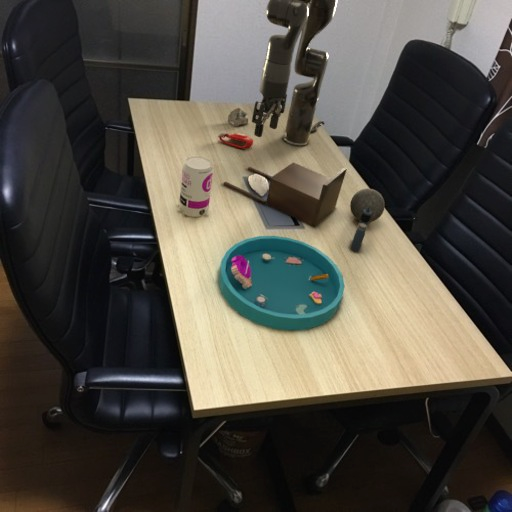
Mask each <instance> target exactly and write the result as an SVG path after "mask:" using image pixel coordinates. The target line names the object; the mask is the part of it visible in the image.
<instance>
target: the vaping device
mask: <svg viewBox="0 0 512 512" xmlns="http://www.w3.org/2000/svg"><path fill="white" fill-rule="evenodd" d="M370 210H371V209H370V208H367V209H364V210H363V213H362V217H361V219H360V221H359V222H358V225H357V228H356V230H355V232H354V235H353V238H352V241H351V244H350V250H351V251H353V252H355V253H356V252H359V251H360V249H361V247H362V245H363V241H364V238H365V235H366V231H367V229H368V226H369V223H370V222H369V220H370V217H371V214H372V212H371V211H370Z"/></svg>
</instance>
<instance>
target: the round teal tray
mask: <svg viewBox="0 0 512 512" xmlns="http://www.w3.org/2000/svg"><path fill="white" fill-rule="evenodd" d="M218 276H219V277H218V284H219V288H220V292H221V295H222V296H223V298H224V299H225V301H226V302H227V303H228V305H229V307H231V308H232V309H234V311H235V312H237V313H238V314H239V315H240V316H242V317H243V318H246V319H247V320H250V321H251V322H252V323H255V324H257V325H260V326H263V327H267V328H270V329H273V330H281V331H288V332H289V331H290V332H293V331H306V330H310V329H313V328H317V327H319V326H322V325H323V324H325V323H326V322H328V321H329V320H331V319H332V318H333V317H334V315H335V314H336V313H337V311H338V310H339V307H340V305H341V302H342V299H343V298H344V297H343V296H344V292H345V281H344V276H343V274H342V272H341V270H340V268H339V267H338V265H337V264H336V263H335V262H334V261H333V260H332V259H331V258H330V256H329V255H327V254H326V253H324V252H323V251H322V250H320V249H318V248H317V247H315V246H313V245H310V244H308V243H306V242H304V241H301V240H297V239H294V238H291V237H287V236H286V237H285V236H279V235H258V236H254V237H249V238H245V239H243V240H240V241H238V242H237V243H235V244H233V245H232V246H231V247H230V248H229V249H227V250H226V252H225V253H224V255H223V257H222V258H221V263H220V268H219V275H218Z"/></svg>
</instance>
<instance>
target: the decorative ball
mask: <svg viewBox="0 0 512 512" xmlns="http://www.w3.org/2000/svg"><path fill="white" fill-rule="evenodd" d="M349 208H350V212H351V214H352V216H353V217H354V218H355V219H356V220H358V221H359V222H360V219H361V217H362V213H363V210H364V209H367V208H370V209H371V210H370V211H371V212H372V214H371V217H370V220H369V222H368V223H372V222H375V221H377V220H378V219H380V218H381V216H382V215H383V213H384V211H385V199H384V197H383V196H382V193H380V192H379V191H378V190H375V189H373V188H363V189H359V190H358V191H356V192H355V193H354V195H352V197H351V200H350V205H349Z"/></svg>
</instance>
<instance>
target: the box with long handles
mask: <svg viewBox="0 0 512 512" xmlns="http://www.w3.org/2000/svg"><path fill="white" fill-rule="evenodd" d="M258 170H259V169H256V168H253V167H252V166H248V167H247V171H248V172H250V173H252V174H258V175H260V176H262V177H265V178H266V179H267V181H269V189H268V191H267V196H266V200H265V199H264V198H262V197H259V196H258V195H255V194H253V193H252V192H249V191H247V190H244V189H243V188H240V187H238V186H236V185H234V184H232V183H230V182H227V181H224V182H223V186H224V187H226V188H228V189H230V190H232V191H234V192H236V193H239V194H241V195H243V196H245V197H248V198H250V199H251V200H253V201H256V202H258V203H259V204H262V205H267V206H268V207H271V208H272V209H275V210H277V211H279V212H281V213H282V214H286V215H287V216H289V217H292V218H293V219H296V220H298V221H300V222H302V223H304V224H307V225H309V226H311V227H313V228H317V226H318V225H319V224H320V223H321V222H322V221H323V220H325V219H326V218H327V217H328V216H329V215H330V214H331V213H332V212H333V211H334V210H335V209H336V206H337V202H338V199H339V197H340V193H341V190H342V186H343V183H344V179H345V176H346V173H347V167H342V168H341V169H340V170H339V171H338V172H336V173H334V175H333V176H331V177H329V176H326V175H324V174H321V173H319V172H317V171H314V170H312V169H310V168H308V167H305V166H303V165H301V164H298V163H296V162H292V163H290V164H288V165H287V166H286V167H284V168H283V169H281V170H280V171H278V172H277V173H275V174H274V175H272V176H271V175H269V174H268V173H265V172H264V171H261V170H259V171H258ZM253 171H254V172H253ZM263 172H264V174H263ZM266 175H267V176H266Z"/></svg>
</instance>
